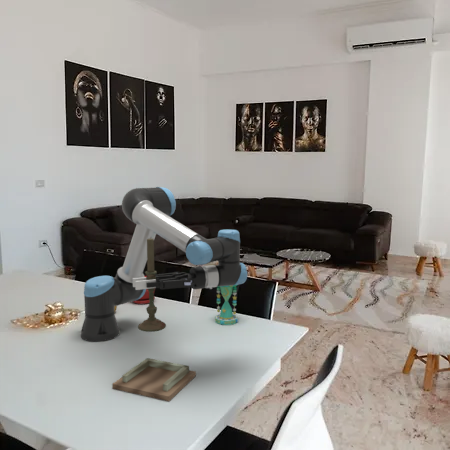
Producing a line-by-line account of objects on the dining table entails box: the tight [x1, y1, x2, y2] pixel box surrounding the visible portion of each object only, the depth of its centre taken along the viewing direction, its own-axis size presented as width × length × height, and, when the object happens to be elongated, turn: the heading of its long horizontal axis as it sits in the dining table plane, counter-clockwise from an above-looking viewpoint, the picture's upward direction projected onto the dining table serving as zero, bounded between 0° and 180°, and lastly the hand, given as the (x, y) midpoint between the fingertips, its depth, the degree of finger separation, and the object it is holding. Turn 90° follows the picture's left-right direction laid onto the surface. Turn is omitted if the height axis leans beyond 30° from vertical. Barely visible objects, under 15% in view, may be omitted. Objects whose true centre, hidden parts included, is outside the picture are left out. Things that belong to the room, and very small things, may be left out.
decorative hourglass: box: [214, 285, 239, 326], centre depth 203 cm, size 11×11×30 cm
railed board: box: [111, 357, 197, 402], centre depth 146 cm, size 20×18×4 cm
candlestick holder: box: [137, 238, 167, 333], centre depth 148 cm, size 9×9×30 cm
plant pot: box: [132, 275, 156, 305], centre depth 232 cm, size 13×13×12 cm
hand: (134, 284), depth 146 cm, fingers closed on candlestick holder, 3 cm apart
